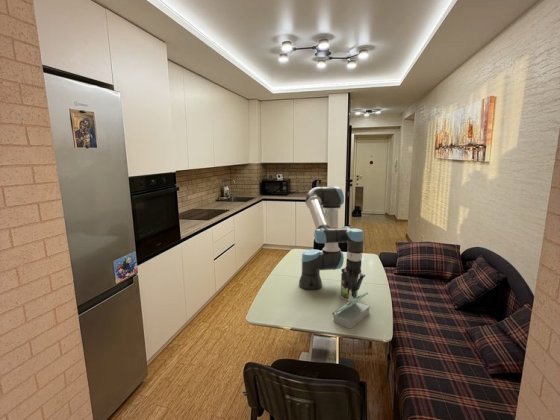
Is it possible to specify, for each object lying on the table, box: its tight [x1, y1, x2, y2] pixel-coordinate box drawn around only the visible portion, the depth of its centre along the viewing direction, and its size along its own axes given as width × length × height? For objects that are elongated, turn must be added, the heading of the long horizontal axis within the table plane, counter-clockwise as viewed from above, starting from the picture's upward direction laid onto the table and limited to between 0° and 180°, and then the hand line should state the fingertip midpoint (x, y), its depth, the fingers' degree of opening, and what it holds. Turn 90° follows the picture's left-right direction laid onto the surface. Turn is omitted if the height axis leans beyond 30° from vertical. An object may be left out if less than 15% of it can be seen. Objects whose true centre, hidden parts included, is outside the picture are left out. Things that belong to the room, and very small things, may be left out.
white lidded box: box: [331, 298, 370, 329], centre depth 161 cm, size 10×21×5 cm, turn 138°
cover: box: [334, 291, 369, 313], centre depth 160 cm, size 11×19×1 cm
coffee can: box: [340, 273, 360, 301], centre depth 183 cm, size 10×10×14 cm
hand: (350, 301), depth 160 cm, fingers closed
